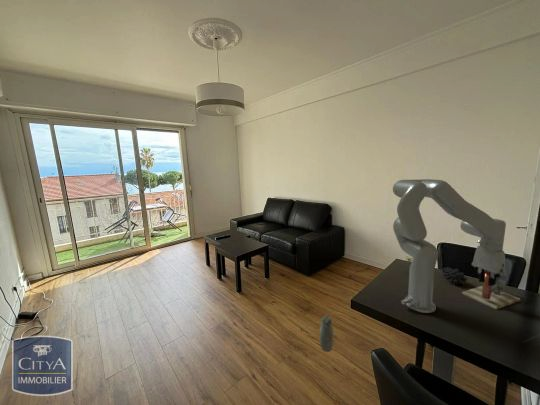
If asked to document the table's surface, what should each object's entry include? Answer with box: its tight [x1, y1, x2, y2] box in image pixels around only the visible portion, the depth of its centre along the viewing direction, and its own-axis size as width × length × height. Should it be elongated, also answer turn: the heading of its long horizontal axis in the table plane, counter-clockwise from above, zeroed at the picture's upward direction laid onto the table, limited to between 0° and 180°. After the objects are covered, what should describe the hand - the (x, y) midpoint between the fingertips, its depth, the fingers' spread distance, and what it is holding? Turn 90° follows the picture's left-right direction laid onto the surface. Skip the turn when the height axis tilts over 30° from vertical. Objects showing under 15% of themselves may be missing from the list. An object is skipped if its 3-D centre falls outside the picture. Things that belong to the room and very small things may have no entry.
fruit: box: [441, 267, 468, 286], centre depth 129 cm, size 9×8×15 cm
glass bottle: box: [318, 315, 334, 353], centre depth 178 cm, size 10×10×28 cm
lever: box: [482, 270, 506, 299], centre depth 111 cm, size 19×4×14 cm, turn 117°
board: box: [461, 285, 521, 310], centre depth 113 cm, size 18×14×5 cm
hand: (486, 283), depth 107 cm, fingers closed on lever, 3 cm apart
